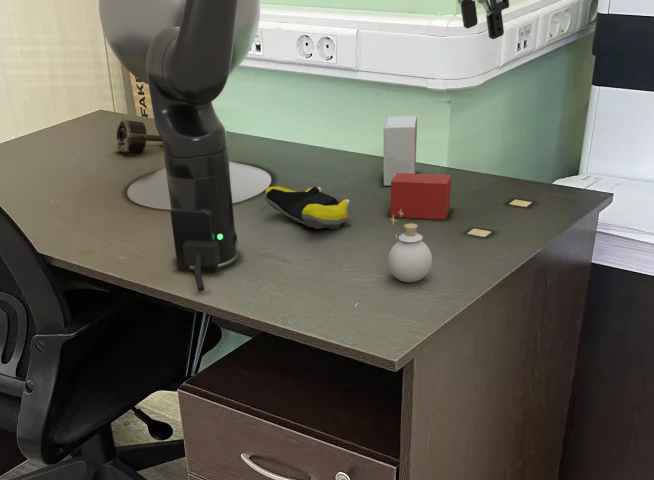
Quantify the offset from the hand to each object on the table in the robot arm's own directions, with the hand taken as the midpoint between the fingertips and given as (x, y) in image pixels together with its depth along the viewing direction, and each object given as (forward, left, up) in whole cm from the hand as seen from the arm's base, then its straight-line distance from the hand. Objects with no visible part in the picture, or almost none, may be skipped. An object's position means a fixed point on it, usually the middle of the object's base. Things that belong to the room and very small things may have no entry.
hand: (483, 31), depth 138 cm
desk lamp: (-4, +51, -26) cm, 57 cm away
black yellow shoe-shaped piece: (-20, +24, -26) cm, 41 cm away
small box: (+4, +14, -26) cm, 30 cm away
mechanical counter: (+16, +72, -26) cm, 78 cm away
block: (-13, +7, -26) cm, 30 cm away
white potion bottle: (-39, +4, -26) cm, 47 cm away
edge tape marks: (-13, -6, -26) cm, 30 cm away
